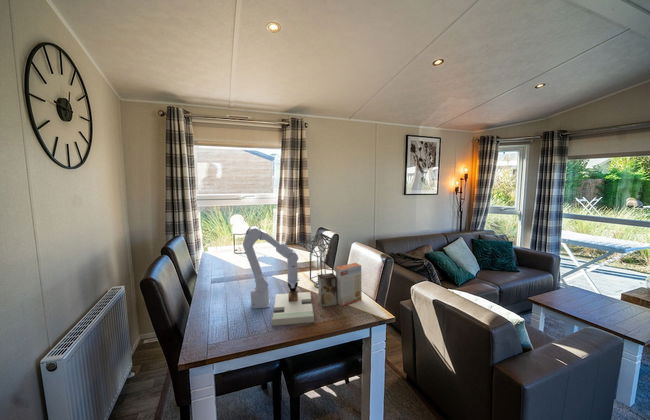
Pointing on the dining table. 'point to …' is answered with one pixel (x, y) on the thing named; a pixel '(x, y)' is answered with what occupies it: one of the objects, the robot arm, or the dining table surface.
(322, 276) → the coffee box
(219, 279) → the dining table surface
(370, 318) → the dining table surface
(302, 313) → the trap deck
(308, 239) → the geometric lantern
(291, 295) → the walnut block
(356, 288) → the cracker box
